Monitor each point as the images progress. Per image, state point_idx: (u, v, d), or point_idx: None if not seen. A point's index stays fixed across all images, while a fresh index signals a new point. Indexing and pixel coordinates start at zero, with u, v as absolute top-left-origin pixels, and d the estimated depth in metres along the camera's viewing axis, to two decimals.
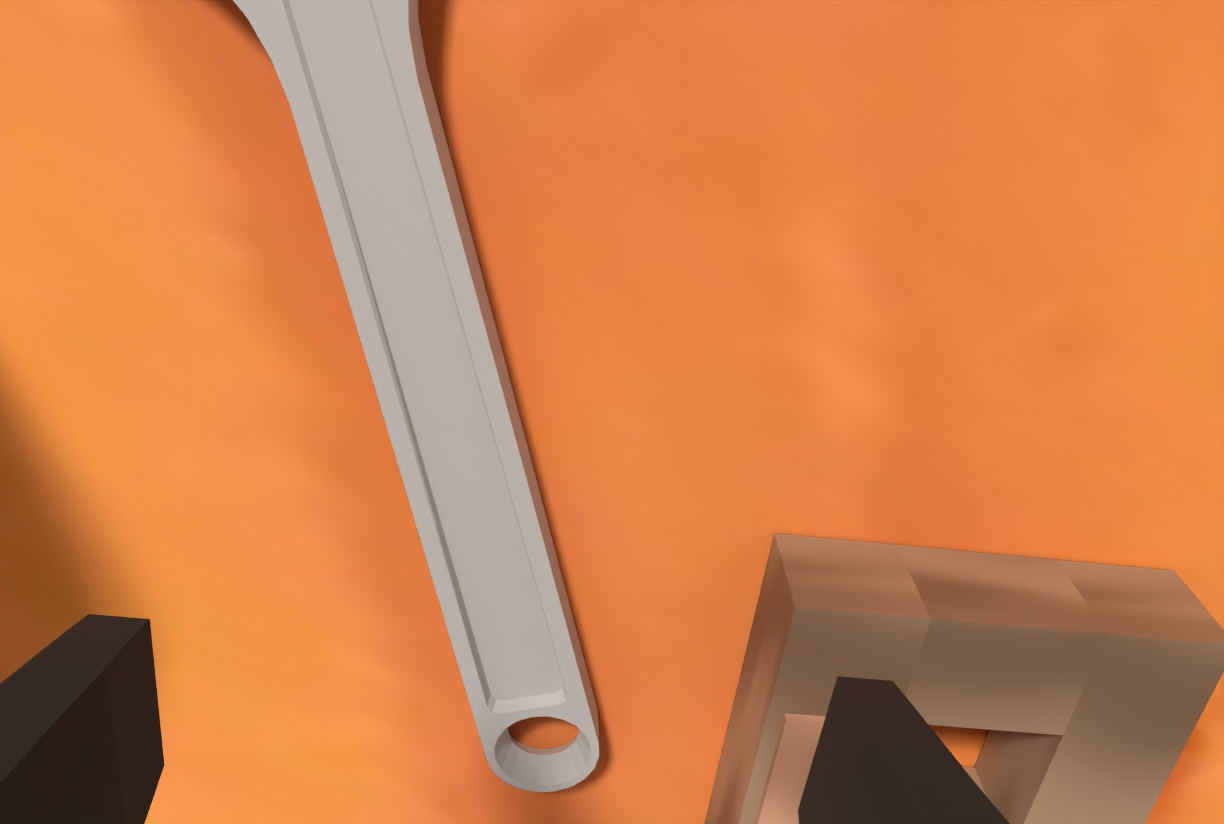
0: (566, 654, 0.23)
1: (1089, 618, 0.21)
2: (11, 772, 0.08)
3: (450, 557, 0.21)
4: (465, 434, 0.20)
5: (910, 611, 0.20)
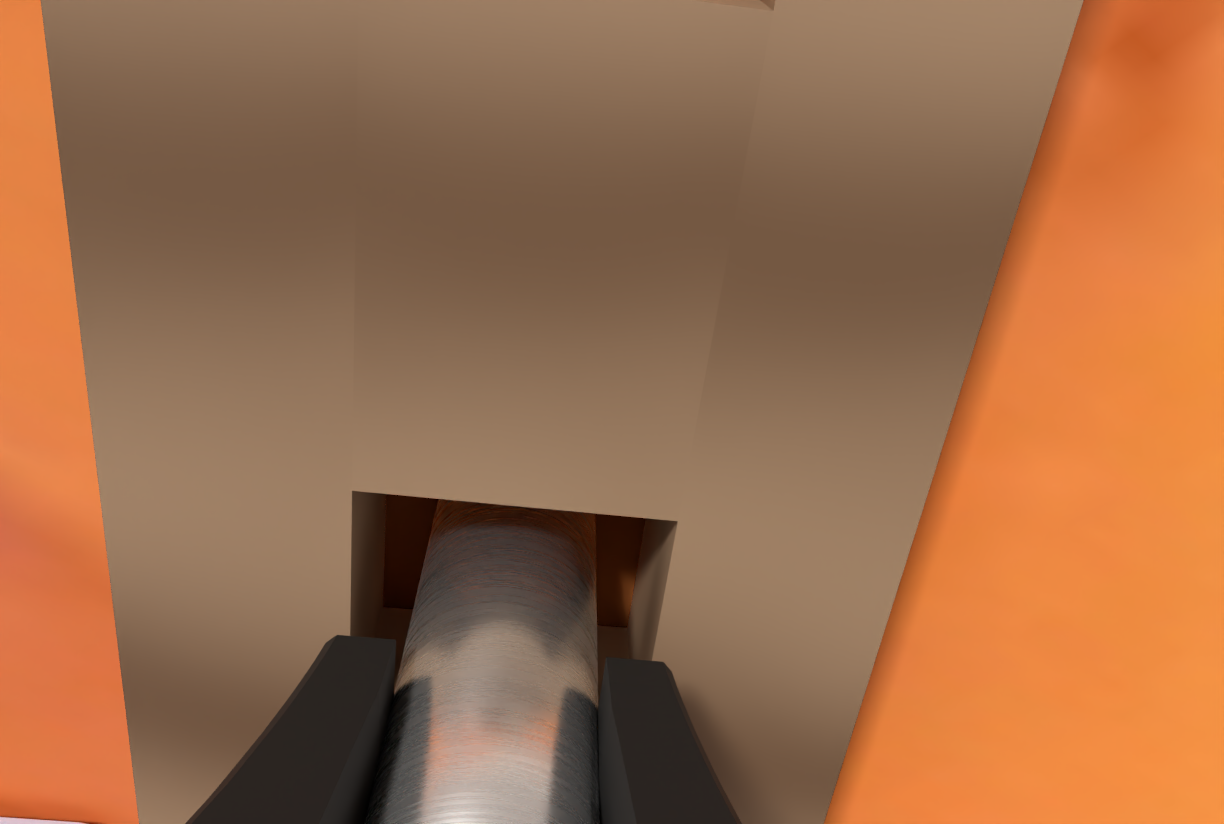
0: None
1: None
2: (331, 795, 0.08)
3: None
4: None
5: None
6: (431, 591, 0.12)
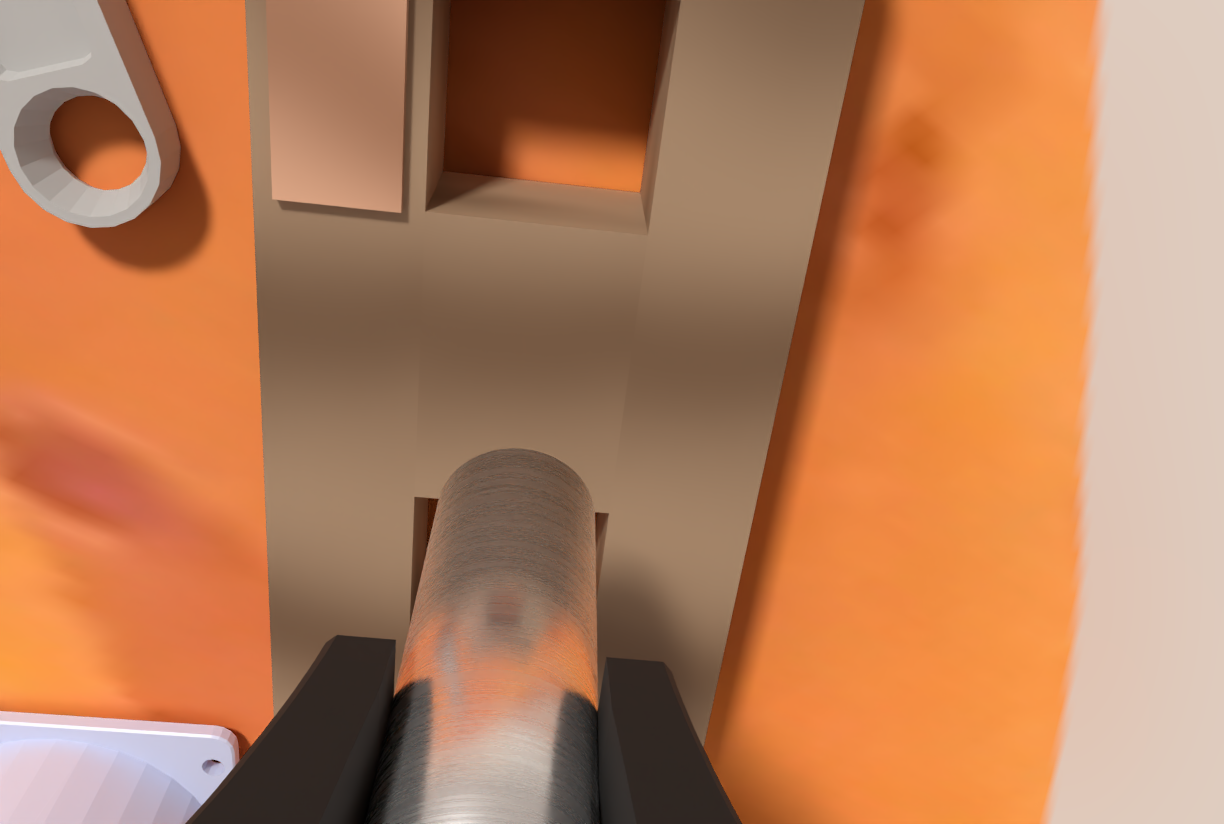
0: None
1: None
2: (330, 794, 0.08)
3: None
4: None
5: None
6: (431, 593, 0.12)
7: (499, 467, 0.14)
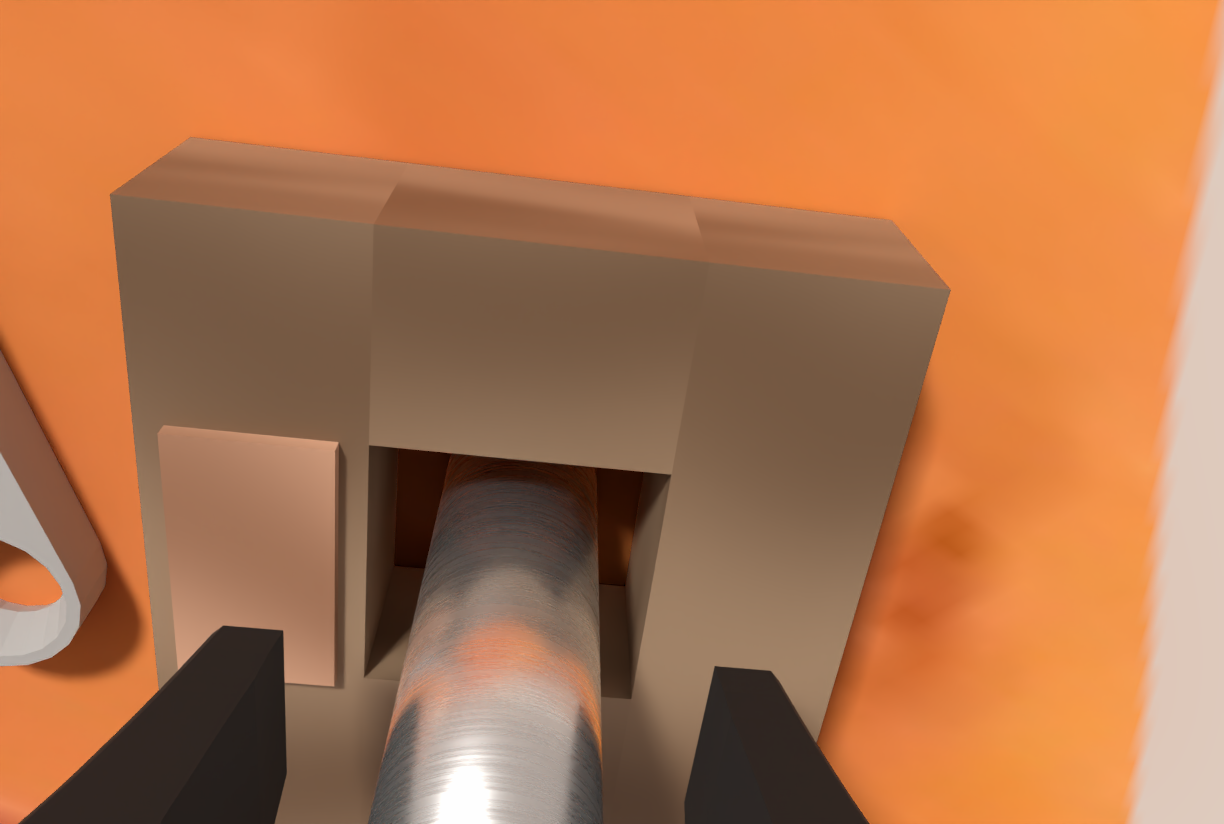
0: None
1: (691, 246, 0.12)
2: (185, 784, 0.08)
3: None
4: None
5: (343, 214, 0.11)
6: (444, 541, 0.13)
7: None
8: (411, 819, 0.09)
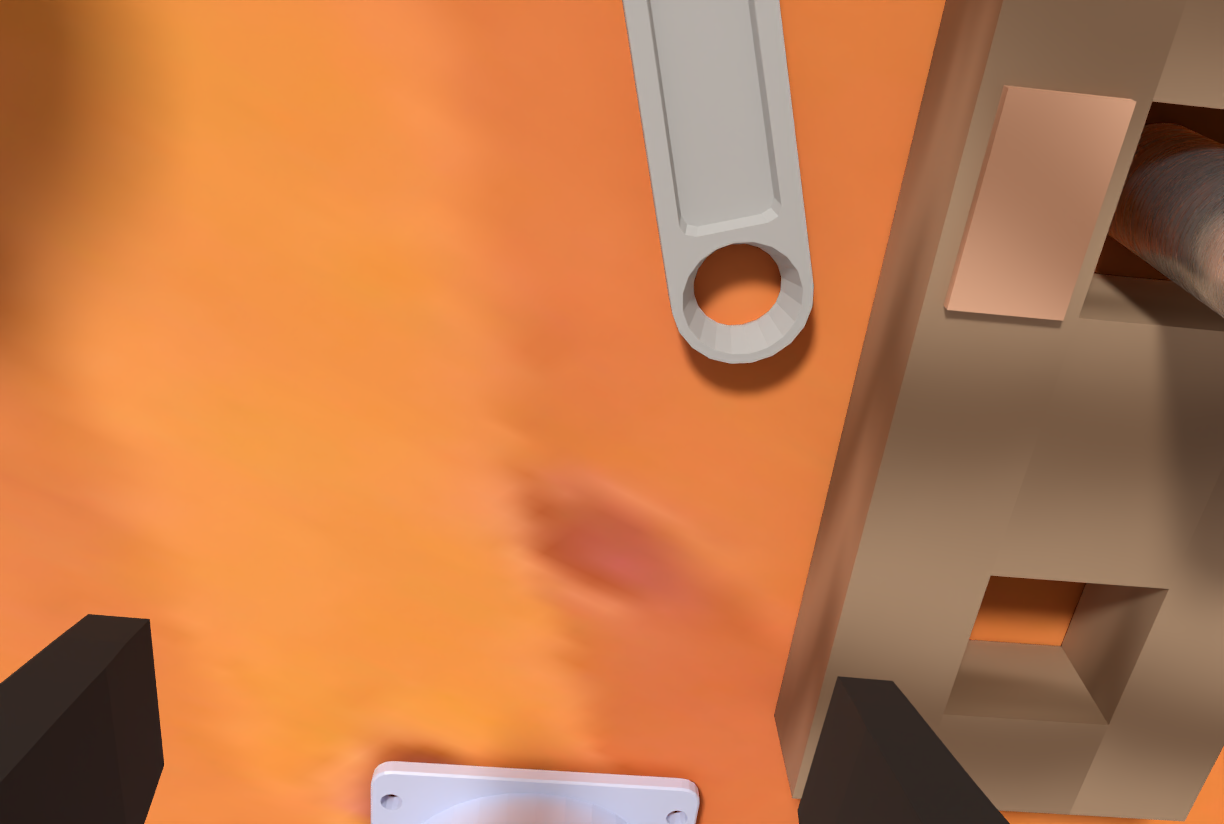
0: (785, 141, 0.18)
1: None
2: (11, 772, 0.08)
3: None
4: None
5: None
6: (1191, 183, 0.16)
7: (1166, 129, 0.18)
8: None
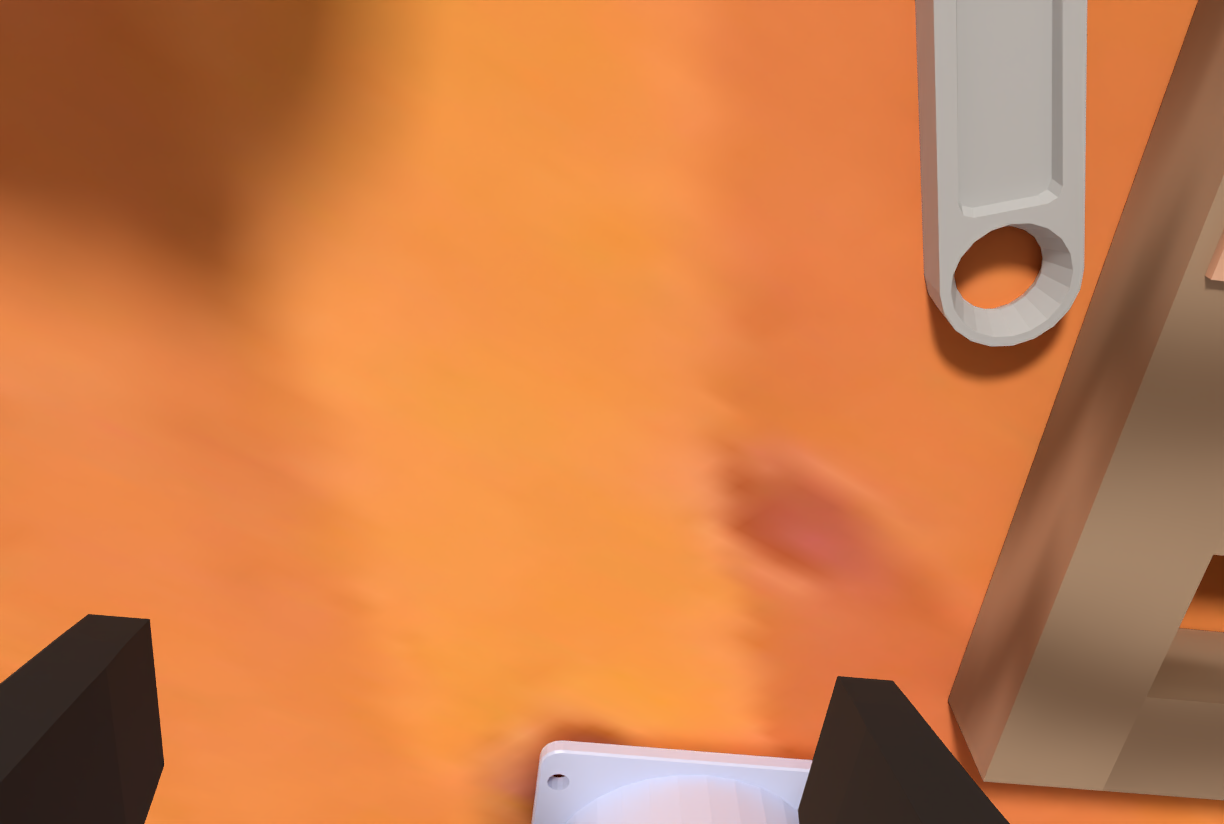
0: (1074, 122, 0.18)
1: None
2: (11, 772, 0.08)
3: None
4: None
5: None
6: None
7: None
8: None
